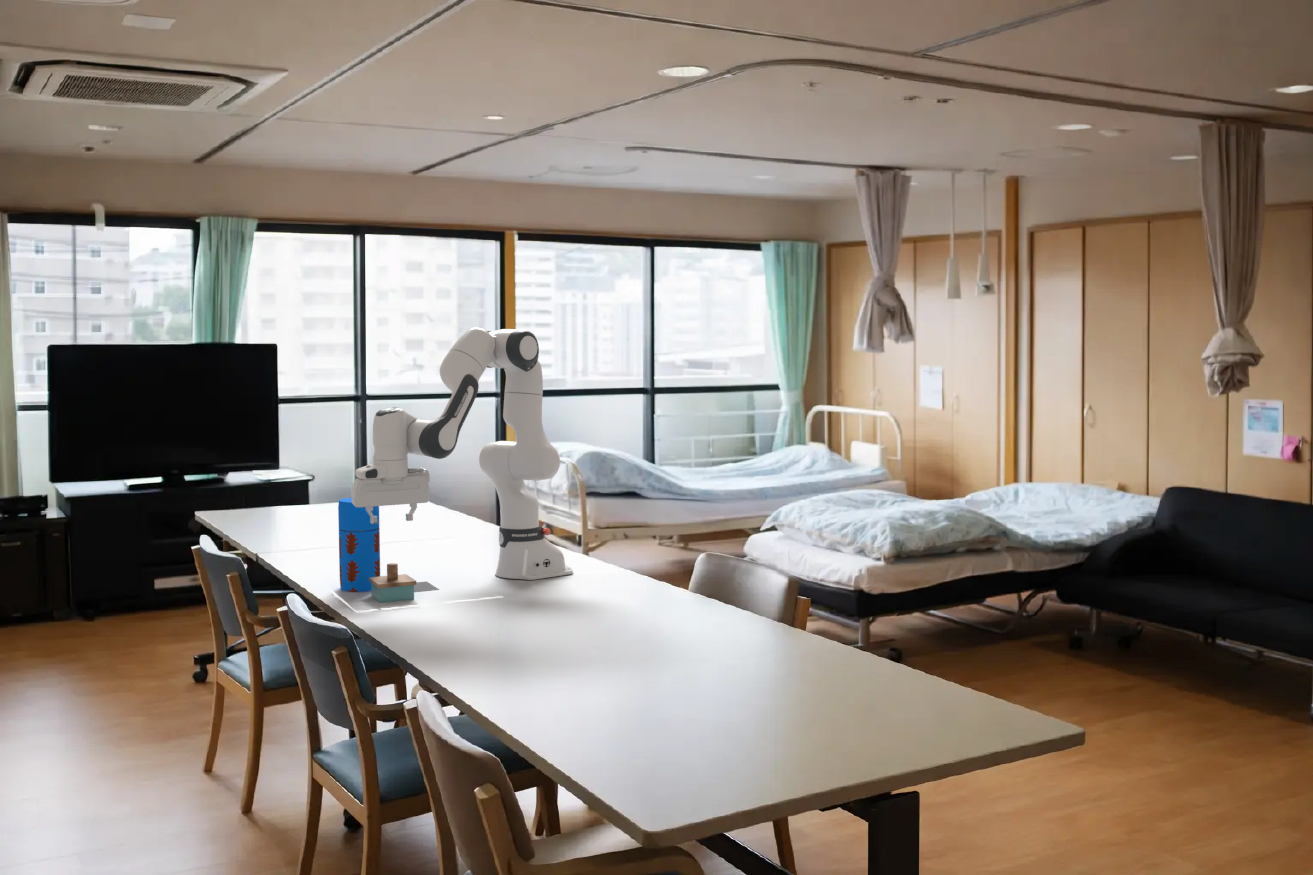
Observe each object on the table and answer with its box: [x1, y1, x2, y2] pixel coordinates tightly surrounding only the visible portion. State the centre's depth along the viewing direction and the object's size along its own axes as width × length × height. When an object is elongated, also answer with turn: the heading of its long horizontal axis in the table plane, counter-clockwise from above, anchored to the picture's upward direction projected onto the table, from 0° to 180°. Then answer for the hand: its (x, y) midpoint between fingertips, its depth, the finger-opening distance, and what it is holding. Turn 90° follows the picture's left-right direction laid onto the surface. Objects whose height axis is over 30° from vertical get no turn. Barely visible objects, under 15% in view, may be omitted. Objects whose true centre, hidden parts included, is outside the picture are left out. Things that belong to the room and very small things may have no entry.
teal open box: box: [370, 583, 415, 604], centre depth 316 cm, size 9×9×4 cm
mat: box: [414, 581, 440, 593], centre depth 329 cm, size 12×12×1 cm
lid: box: [369, 562, 417, 588], centre depth 316 cm, size 10×10×5 cm
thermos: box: [337, 497, 381, 593], centre depth 327 cm, size 11×11×25 cm
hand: (391, 521), depth 315 cm, fingers open, 8 cm apart
